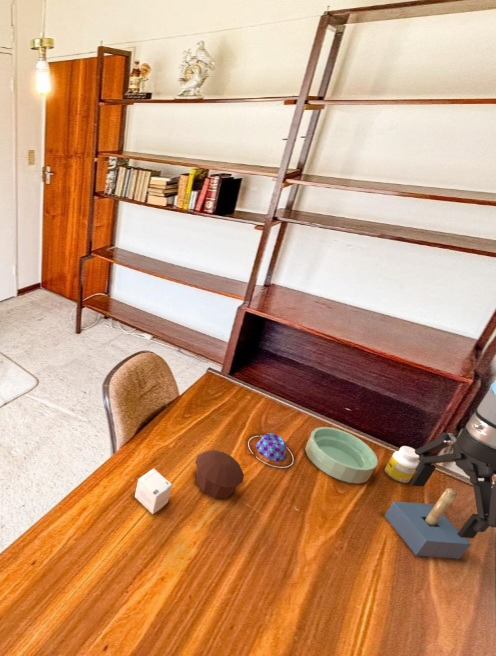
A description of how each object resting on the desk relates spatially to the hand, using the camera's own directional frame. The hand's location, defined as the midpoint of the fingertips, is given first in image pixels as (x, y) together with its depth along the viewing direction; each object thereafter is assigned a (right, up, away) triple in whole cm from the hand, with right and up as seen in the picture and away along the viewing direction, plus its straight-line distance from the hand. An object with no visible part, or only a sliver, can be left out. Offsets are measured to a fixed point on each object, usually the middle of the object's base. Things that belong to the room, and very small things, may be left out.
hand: (439, 508), depth 90 cm
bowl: (-5, 0, +25) cm, 25 cm away
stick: (0, -9, +4) cm, 10 cm away
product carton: (-63, -4, +11) cm, 64 cm away
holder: (0, -9, +4) cm, 10 cm away
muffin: (-45, -2, +16) cm, 48 cm away
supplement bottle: (+8, -2, +21) cm, 22 cm away
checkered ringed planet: (-23, +2, +27) cm, 36 cm away
